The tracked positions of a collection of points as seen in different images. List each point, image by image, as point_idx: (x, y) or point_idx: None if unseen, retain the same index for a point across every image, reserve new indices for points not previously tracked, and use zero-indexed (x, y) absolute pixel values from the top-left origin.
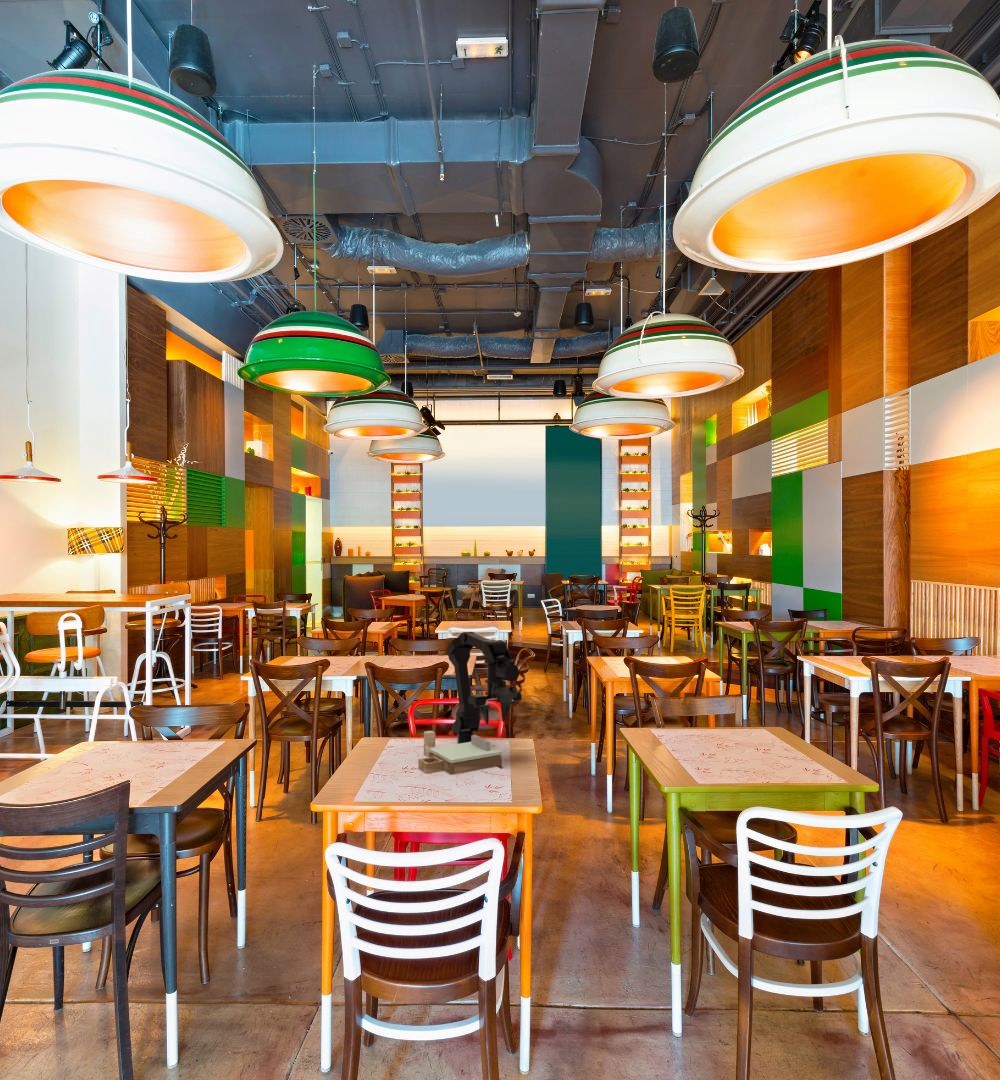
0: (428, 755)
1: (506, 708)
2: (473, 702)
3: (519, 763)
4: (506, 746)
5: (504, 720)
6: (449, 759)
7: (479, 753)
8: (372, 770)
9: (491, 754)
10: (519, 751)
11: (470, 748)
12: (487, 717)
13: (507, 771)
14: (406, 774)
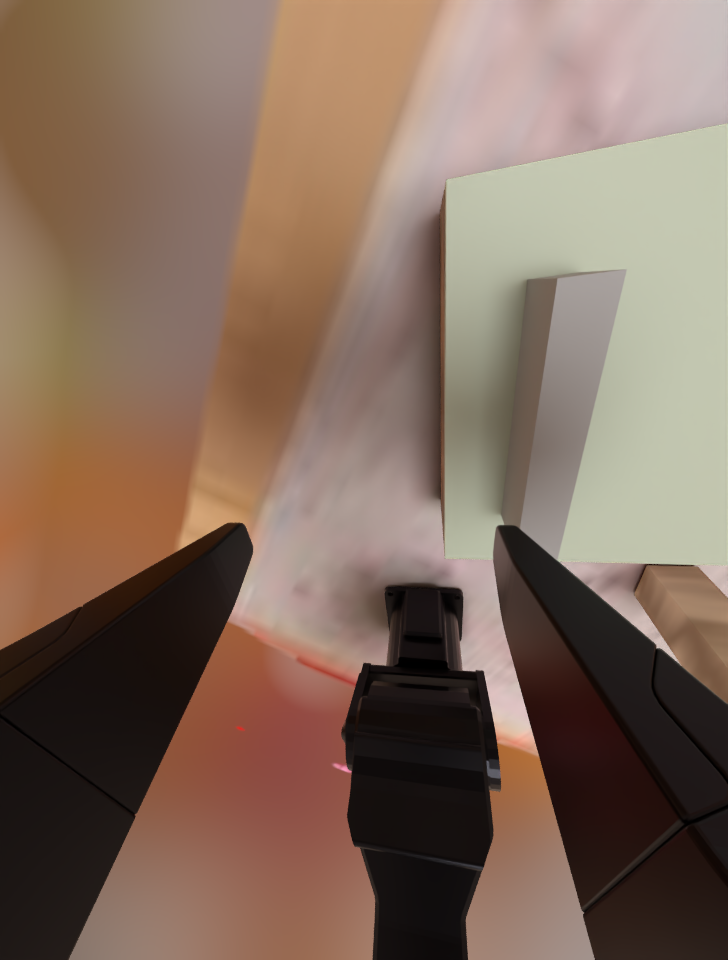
0: (705, 583)
1: (17, 692)
2: None
3: (280, 288)
4: (258, 560)
5: (226, 530)
6: None
7: (708, 209)
8: None
9: (582, 156)
10: (223, 483)
11: (629, 425)
12: (569, 599)
13: (434, 112)
14: None
